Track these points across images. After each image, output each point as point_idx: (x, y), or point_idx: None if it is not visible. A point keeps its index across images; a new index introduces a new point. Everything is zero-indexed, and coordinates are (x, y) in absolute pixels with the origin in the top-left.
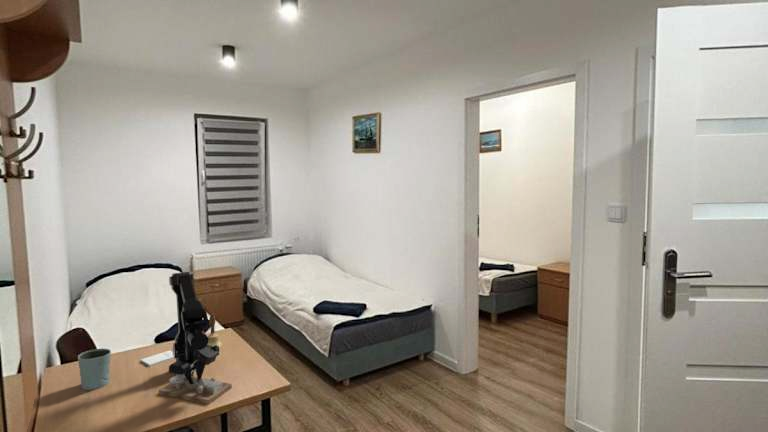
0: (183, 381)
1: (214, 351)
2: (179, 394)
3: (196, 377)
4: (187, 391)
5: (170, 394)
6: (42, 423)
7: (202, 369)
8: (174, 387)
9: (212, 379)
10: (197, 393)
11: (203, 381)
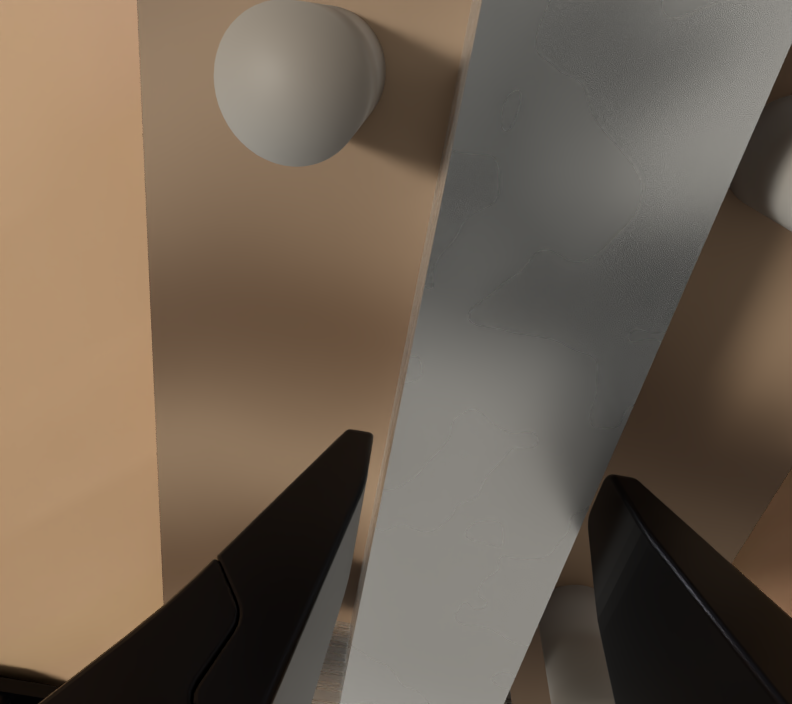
0: (513, 659)
1: None
2: (753, 517)
3: (164, 541)
4: (666, 450)
5: None
6: None
7: (289, 610)
8: (528, 660)
9: (365, 61)
10: (774, 223)
11: (536, 282)
